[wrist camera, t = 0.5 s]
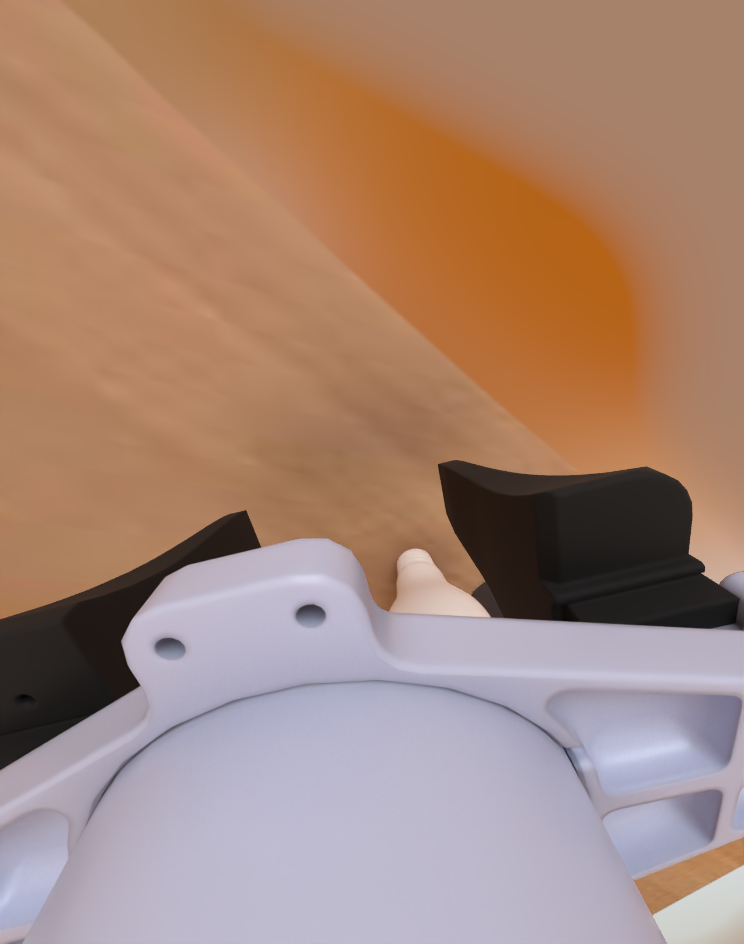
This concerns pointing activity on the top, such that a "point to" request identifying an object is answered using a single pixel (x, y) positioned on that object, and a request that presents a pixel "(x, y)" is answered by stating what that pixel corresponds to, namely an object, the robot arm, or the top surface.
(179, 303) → the top surface
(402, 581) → the lightbulb
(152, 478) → the top surface
